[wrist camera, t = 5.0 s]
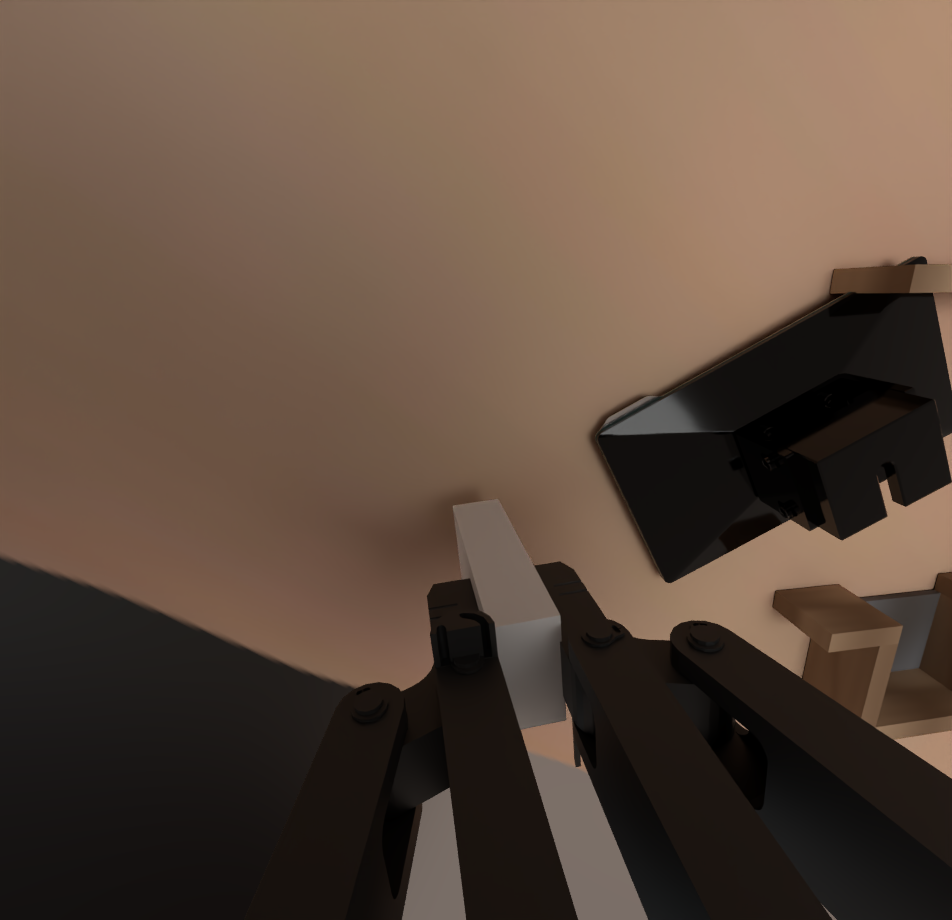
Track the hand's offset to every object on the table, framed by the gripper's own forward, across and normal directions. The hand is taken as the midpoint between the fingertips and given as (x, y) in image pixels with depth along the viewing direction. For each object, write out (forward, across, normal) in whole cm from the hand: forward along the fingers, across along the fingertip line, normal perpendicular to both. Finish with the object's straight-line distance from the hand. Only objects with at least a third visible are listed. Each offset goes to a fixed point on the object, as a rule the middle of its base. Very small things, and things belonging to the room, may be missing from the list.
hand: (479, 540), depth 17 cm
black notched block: (+4, +12, +2) cm, 13 cm away
